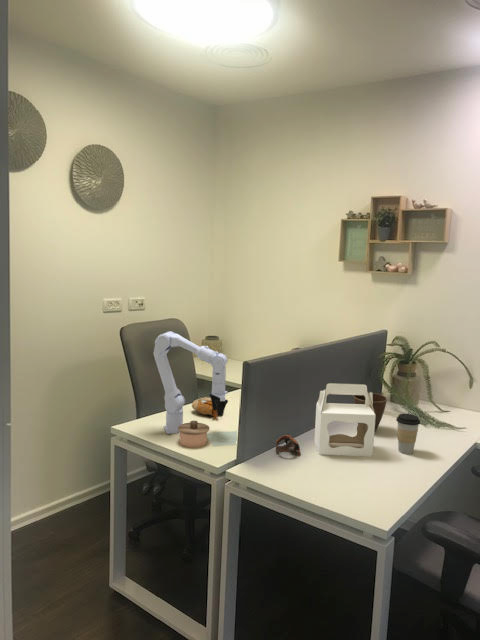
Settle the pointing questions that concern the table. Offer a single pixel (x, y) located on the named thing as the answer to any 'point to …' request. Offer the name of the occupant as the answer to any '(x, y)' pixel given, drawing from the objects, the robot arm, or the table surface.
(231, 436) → the rubber mat
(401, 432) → the coffee cup
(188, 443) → the terracotta bowl
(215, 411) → the nautilus
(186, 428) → the walnut lid
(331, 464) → the table surface
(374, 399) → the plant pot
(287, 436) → the brown openwork dome
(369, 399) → the gable box
